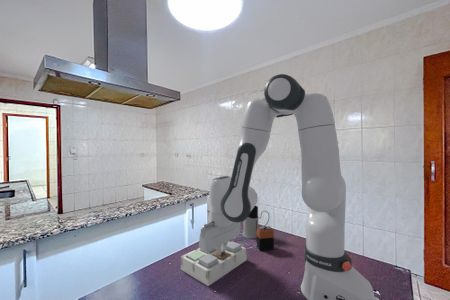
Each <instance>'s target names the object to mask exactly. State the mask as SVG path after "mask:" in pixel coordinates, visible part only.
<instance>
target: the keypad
mask: <svg viewBox="0 0 450 300" xmlns="http://www.w3.org/2000/svg"><path fill="white" fill-rule="evenodd" d="M247 248H248V247H245V246H242V244H240V243H238V242H235V241H233V240H232V241H231V240H229V241H228V244H227V246H226V249H225V252H228V253H230V256H229V257H227V258H226V259H224V260H222V261H221V260H219V259H218V258H217V257H215V256H213V255H212V254H214V253H216V252H217V250H216V248H213V249H212V250H210V251H208V252H205V251H203V250H201V249H200V248H199V247H198V248H196V249H194V250H192V251H189V252H187V253H185V254H183V255H181V256H180V270H181V271H183V272H184V273H186V274H187V275H189V276H190V277H192V278H194V279H196V280H197V281H199V282H200V283H202V284H203V285H205V286H207V287H210V286H211V285H212V284H214V283H215V282H217V281H218V280H219V279H222V278H223V277H224V276H225V275H227V274H229V273H230V272H231V271H232V270H234V269H235V268H237V267H238V266H240V265H241V264H243V263H244V262H246V261H247V257H248V256H247V255H248V254H247V252H248V251H247ZM194 251H198V252H200V253H203V254H205V256H203V257H201V258H199V259H198V260H197V261H195V262H194V261H192V260H190V259H189V258H187V257H186V255H188V254H190V253H192V252H194Z"/></svg>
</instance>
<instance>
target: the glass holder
mask: <svg viewBox="0 0 450 300" xmlns="http://www.w3.org/2000/svg"><path fill="white" fill-rule="evenodd" d="M264 212H266V213H267V214H268V216H270V213H269V211H267V210H262V211H261V212H260V217H259V207H258V205H255V206H254V208H253V209H252V211H251V212H250V214H249V216H248V217H247V219H246V220H244V221H242V222H243V223H242V224H243V232H242V237H245V238H247V239H257V228H259V219H261V218H262V217H263V216H262V214H263V213H264ZM269 221H270V217H268V218H267V222H266V224H265V225H264V226H263V227H267V225H268V224H269Z"/></svg>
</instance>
